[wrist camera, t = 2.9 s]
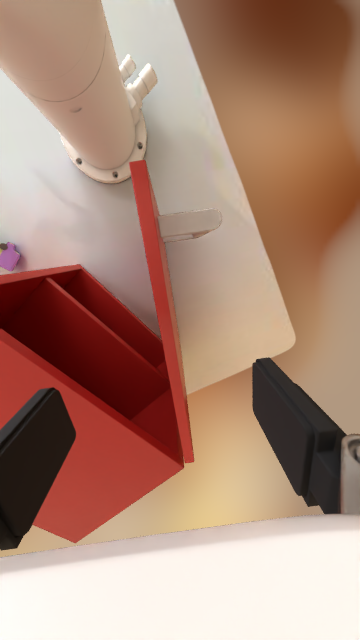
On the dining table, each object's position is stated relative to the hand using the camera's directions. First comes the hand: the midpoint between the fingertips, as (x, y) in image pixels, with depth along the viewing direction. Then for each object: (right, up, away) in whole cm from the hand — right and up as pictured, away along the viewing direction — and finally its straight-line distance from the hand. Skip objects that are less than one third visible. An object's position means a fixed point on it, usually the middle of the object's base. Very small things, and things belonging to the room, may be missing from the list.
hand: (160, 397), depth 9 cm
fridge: (-15, -1, +31) cm, 35 cm away
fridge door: (+2, +9, +29) cm, 30 cm away
